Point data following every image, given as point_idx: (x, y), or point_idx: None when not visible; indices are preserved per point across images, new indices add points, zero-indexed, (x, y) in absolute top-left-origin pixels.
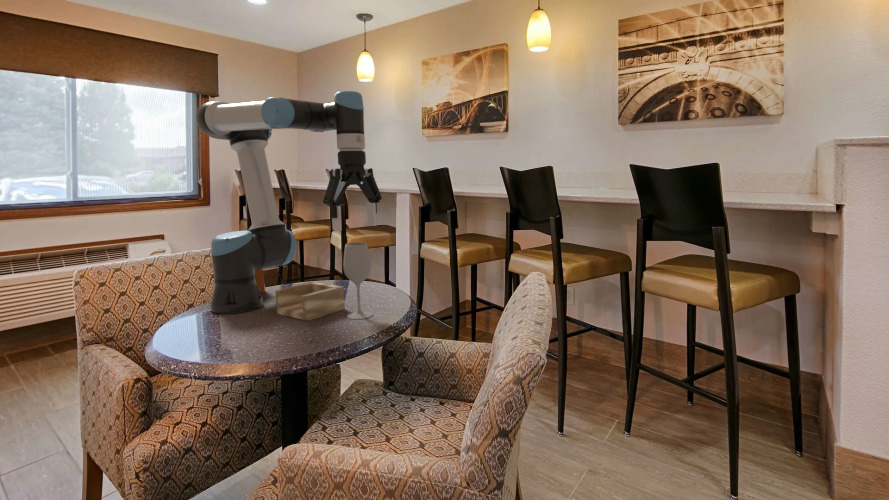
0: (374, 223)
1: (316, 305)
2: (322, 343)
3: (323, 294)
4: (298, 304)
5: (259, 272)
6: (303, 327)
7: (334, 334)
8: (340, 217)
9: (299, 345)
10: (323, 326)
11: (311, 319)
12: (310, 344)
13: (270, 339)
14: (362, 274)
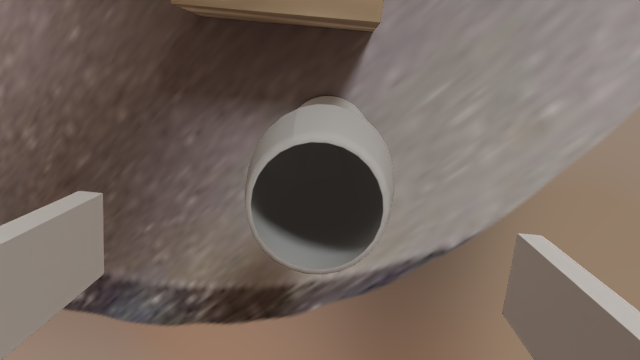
0: (510, 321)
1: (230, 14)
2: None
3: (263, 12)
4: None
5: None
6: (143, 58)
7: (146, 194)
8: (28, 329)
9: (31, 173)
10: (183, 110)
11: (215, 17)
12: (53, 193)
13: (14, 57)
14: (296, 219)
